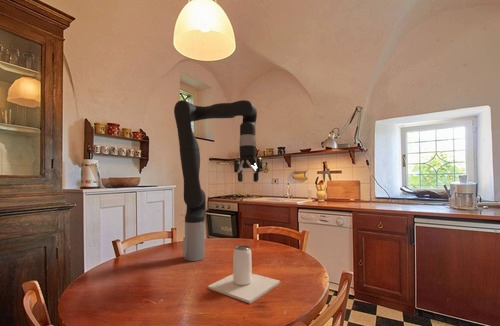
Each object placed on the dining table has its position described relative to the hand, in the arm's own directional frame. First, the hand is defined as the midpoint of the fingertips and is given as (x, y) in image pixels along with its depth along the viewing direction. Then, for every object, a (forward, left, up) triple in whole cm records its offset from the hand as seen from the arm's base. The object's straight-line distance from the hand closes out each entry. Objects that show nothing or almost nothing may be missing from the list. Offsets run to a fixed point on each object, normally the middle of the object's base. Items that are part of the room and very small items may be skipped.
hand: (247, 181), depth 110 cm
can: (+11, -18, -35) cm, 41 cm away
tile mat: (+12, -18, -36) cm, 42 cm away
